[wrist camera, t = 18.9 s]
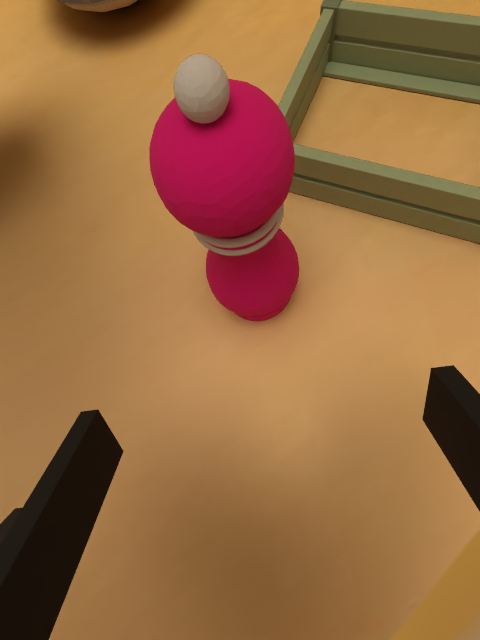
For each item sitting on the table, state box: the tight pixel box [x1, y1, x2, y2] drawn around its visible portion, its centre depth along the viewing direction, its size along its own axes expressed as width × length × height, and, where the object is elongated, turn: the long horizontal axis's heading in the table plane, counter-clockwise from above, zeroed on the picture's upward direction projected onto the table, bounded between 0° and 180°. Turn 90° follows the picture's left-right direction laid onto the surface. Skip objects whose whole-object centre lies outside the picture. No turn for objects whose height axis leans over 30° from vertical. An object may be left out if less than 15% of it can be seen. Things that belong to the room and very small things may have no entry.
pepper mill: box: [150, 54, 299, 321], centre depth 18 cm, size 7×7×20 cm
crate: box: [278, 0, 480, 244], centre depth 27 cm, size 23×18×5 cm
